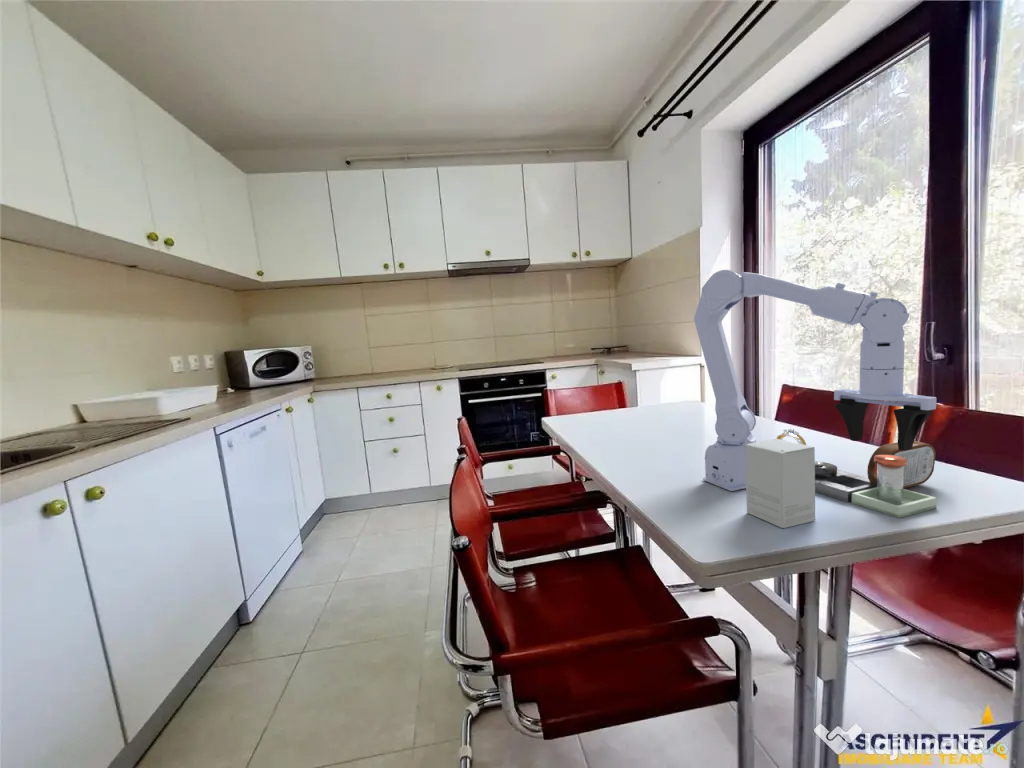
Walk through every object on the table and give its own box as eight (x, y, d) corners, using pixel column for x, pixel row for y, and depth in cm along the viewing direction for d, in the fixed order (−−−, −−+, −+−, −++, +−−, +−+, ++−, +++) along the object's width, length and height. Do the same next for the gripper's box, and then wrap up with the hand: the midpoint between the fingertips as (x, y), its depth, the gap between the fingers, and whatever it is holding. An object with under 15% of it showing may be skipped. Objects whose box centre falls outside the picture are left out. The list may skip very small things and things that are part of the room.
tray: (899, 518, 68) (899, 507, 67) (851, 502, 74) (851, 493, 74) (936, 507, 70) (936, 497, 70) (887, 493, 77) (887, 484, 77)
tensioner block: (847, 502, 75) (847, 479, 74) (786, 482, 86) (786, 462, 86) (886, 492, 78) (886, 471, 77) (821, 474, 89) (821, 455, 89)
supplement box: (817, 521, 69) (817, 446, 67) (782, 529, 67) (781, 453, 65) (777, 505, 76) (776, 437, 74) (744, 512, 74) (743, 443, 72)
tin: (919, 477, 82) (920, 436, 81) (939, 482, 79) (940, 439, 78) (864, 490, 78) (865, 446, 77) (884, 496, 75) (884, 450, 74)
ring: (773, 459, 101) (772, 427, 100) (784, 458, 102) (784, 426, 101) (797, 467, 94) (797, 433, 93) (809, 466, 95) (809, 431, 94)
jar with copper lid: (895, 507, 70) (895, 463, 69) (867, 499, 74) (868, 457, 73) (912, 503, 71) (913, 459, 71) (884, 495, 75) (884, 453, 75)
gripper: (950, 368, 66) (947, 450, 68) (853, 364, 80) (852, 433, 82) (920, 372, 64) (917, 457, 66) (826, 367, 78) (825, 438, 80)
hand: (879, 444), depth 74 cm, fingers open, 7 cm apart
